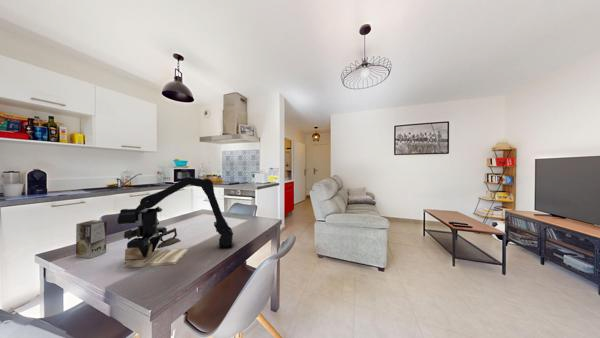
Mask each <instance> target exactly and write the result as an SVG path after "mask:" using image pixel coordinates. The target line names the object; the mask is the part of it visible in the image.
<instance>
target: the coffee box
mask: <svg viewBox="0 0 600 338" xmlns="http://www.w3.org/2000/svg"><path fill="white" fill-rule="evenodd" d="M107 224H108V221H107V220H97V219H95V220H94V219H93V220H88V221H83V222H80V223H76V224H75V227H76V230H75V231H76V232H75V238H76V239H75V242H76V244H75V257H76V258H83V259H92V258H95V257H98V256H101V255H103V254H106V253H107V237H108V236H107V234H108V233H107V231H108V229H107V226H108V225H107Z"/></svg>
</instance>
